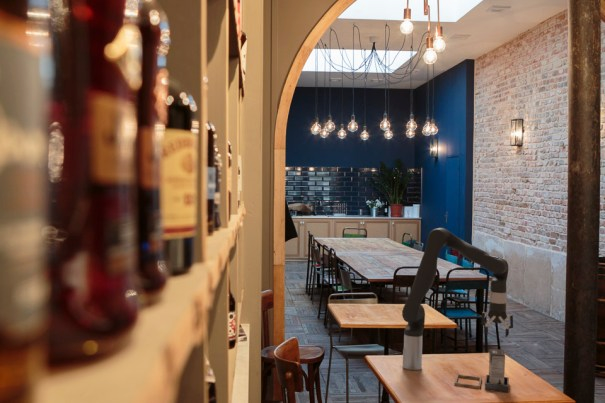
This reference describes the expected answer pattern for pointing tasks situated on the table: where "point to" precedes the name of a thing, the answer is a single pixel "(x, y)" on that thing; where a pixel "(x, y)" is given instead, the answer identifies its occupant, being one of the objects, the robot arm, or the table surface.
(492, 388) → the box
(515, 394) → the table surface
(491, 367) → the coffee box
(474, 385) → the tray frame
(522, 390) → the table surface
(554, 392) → the table surface
